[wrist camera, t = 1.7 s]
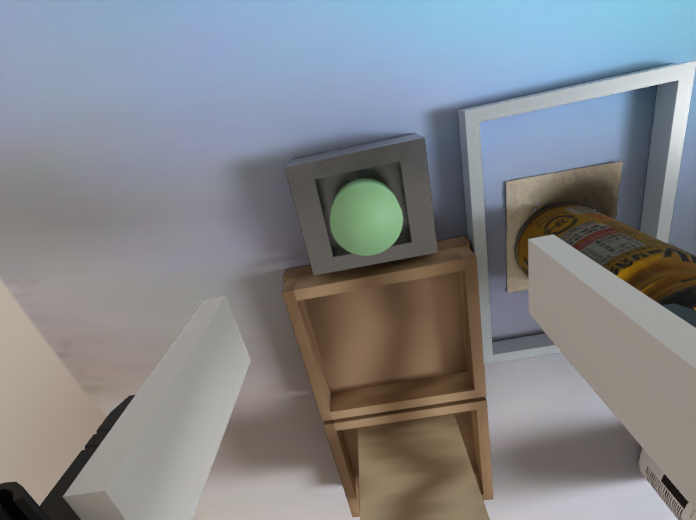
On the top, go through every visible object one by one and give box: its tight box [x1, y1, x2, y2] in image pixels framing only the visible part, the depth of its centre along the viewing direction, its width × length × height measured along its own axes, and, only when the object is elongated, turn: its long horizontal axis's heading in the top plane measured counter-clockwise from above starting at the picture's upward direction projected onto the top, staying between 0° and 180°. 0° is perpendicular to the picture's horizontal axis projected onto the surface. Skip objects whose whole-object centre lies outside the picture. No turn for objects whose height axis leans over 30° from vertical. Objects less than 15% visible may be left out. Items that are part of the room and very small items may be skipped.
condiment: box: [506, 161, 696, 311], centre depth 20 cm, size 7×8×12 cm
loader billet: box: [358, 413, 490, 520], centre depth 27 cm, size 8×7×12 cm
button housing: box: [285, 133, 438, 275], centre depth 23 cm, size 8×7×3 cm
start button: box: [330, 178, 403, 256], centre depth 21 cm, size 4×4×2 cm
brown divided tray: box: [282, 236, 493, 517], centre depth 30 cm, size 13×24×3 cm, turn 12°
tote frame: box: [458, 61, 696, 365], centre depth 25 cm, size 13×19×2 cm
